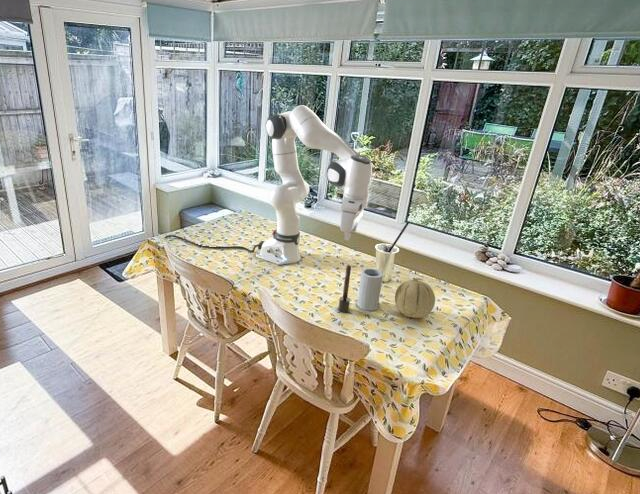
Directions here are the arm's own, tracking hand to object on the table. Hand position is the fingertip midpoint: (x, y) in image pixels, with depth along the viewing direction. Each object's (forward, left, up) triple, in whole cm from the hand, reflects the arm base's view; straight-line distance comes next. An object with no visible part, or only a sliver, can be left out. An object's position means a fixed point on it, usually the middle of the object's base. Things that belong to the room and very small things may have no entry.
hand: (350, 235), depth 155 cm
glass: (+11, +31, -31) cm, 45 cm away
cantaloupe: (+26, +6, -31) cm, 41 cm away
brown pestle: (+1, -3, -31) cm, 31 cm away
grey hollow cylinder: (+9, +5, -31) cm, 32 cm away
